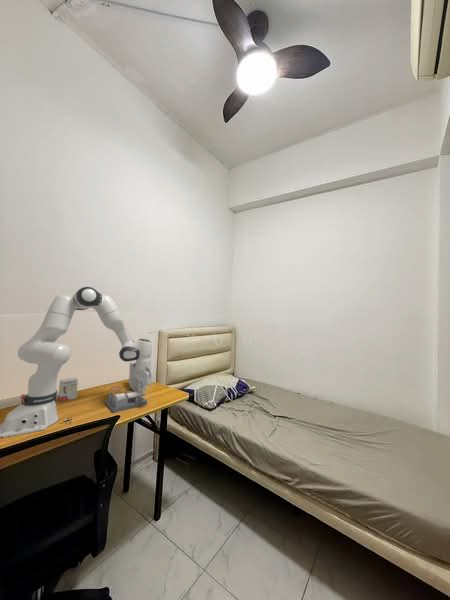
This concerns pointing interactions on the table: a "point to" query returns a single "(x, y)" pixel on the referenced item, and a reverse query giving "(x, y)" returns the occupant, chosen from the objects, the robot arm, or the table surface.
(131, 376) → the rounded white slab
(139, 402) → the grey stepped base
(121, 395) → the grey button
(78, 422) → the table surface
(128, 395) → the rocker
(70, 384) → the ink box
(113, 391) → the orange button
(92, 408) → the table surface
